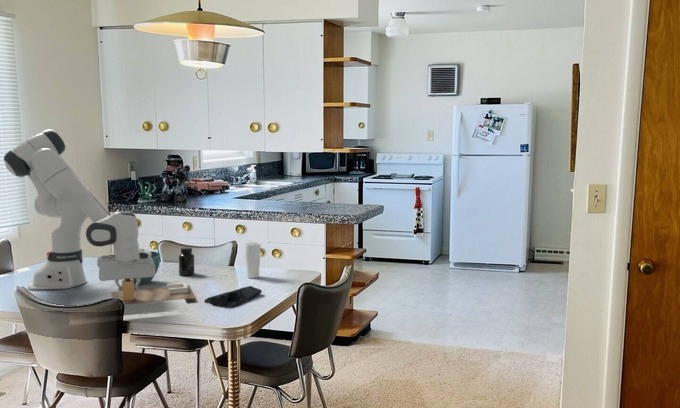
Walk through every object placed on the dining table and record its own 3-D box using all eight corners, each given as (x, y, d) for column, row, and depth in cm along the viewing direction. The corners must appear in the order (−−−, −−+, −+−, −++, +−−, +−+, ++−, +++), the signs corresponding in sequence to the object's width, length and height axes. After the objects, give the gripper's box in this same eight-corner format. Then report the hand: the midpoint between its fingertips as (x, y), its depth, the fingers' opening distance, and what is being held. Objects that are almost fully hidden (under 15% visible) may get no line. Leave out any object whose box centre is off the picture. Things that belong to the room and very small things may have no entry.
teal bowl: (147, 290, 253) (146, 260, 252) (107, 287, 257) (106, 258, 255) (168, 279, 271) (167, 251, 269) (130, 277, 274) (129, 250, 273)
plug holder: (169, 294, 242) (168, 289, 241) (167, 288, 250) (166, 284, 249) (187, 292, 244) (187, 287, 244) (185, 287, 252) (185, 282, 252)
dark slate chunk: (268, 296, 246) (268, 284, 246) (230, 310, 228) (229, 297, 227) (239, 291, 254) (238, 279, 254) (199, 303, 236) (199, 291, 235)
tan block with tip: (122, 300, 232) (121, 274, 231) (122, 297, 236) (121, 272, 235) (134, 299, 234) (133, 273, 233) (133, 296, 237) (132, 271, 236)
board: (111, 309, 226) (111, 305, 226) (111, 295, 245) (111, 291, 245) (195, 301, 237) (195, 297, 237) (189, 288, 255) (189, 285, 255)
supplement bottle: (192, 276, 277) (191, 249, 275) (177, 276, 277) (176, 249, 275) (196, 272, 284) (195, 246, 282) (181, 272, 284) (180, 246, 282)
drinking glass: (262, 275, 279) (261, 242, 277) (258, 279, 272) (258, 245, 270) (247, 275, 279) (247, 242, 277) (243, 278, 273) (243, 245, 271)
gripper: (96, 257, 226) (98, 294, 228) (155, 253, 233) (156, 289, 235) (97, 254, 232) (98, 290, 234) (154, 250, 239) (155, 285, 241)
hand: (128, 290), depth 235 cm, fingers closed on tan block with tip, 4 cm apart
